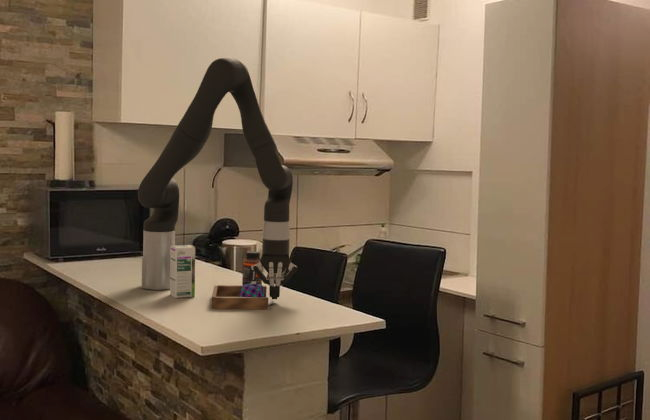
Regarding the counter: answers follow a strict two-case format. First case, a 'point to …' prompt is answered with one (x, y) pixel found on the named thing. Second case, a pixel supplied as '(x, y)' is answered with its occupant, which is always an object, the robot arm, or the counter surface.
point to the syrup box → (182, 271)
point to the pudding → (253, 291)
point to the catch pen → (236, 298)
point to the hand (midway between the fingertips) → (274, 298)
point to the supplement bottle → (251, 268)
